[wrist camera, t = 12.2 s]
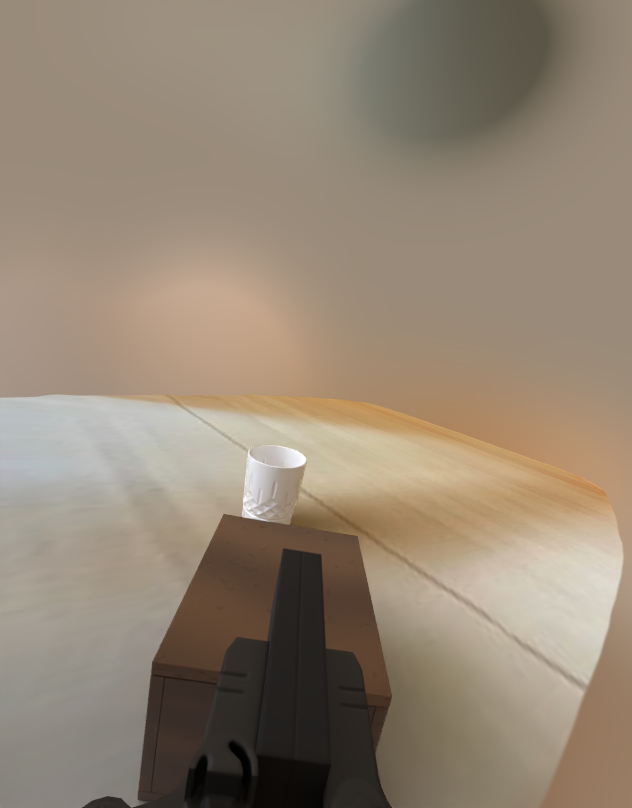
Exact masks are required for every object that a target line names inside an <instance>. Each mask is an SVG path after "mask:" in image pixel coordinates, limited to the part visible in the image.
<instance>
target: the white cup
mask: <svg viewBox="0 0 632 808" xmlns="http://www.w3.org/2000/svg"><path fill="white" fill-rule="evenodd" d="M306 463H307V459H306V457H305V456H304V455H303V454H302V453H300V452H298V451H296V450H294V449H291V448H288V447H284V446H279V445H258V446H254V447H252V448H250V449H249V451H248V456H247V466H246V475H245V484H244V496H243V513H242V517H244V518H250V519H256V520H262V521H269V522H275V523H281V524H287V525H290V524H291V520H292V516H293V512H294V510H295V507H296V503H297V500H298V496H299V492H300V488H301V484H302V480H303V476H304V471H305V467H306Z"/></svg>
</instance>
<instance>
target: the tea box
mask: <svg viewBox="0 0 632 808" xmlns="http://www.w3.org/2000/svg"><path fill="white" fill-rule="evenodd" d="M216 686H217V684H216V683H209V682H202V681H195V680H187V679H180V678H173V677H166V676H159V675H152V674H151V679H150V688H149V697H148V707H147V716H146V725H145V735H144V744H143V753H142V763H141V772H140V781H139V790H138V800H146V801H156V800H158V799H160V798H163V797H165V796H167V795H169V794H170V793H171V792H173V791H174V790H175V789H177V788H178V787H179V786H180V785H181V784H182V783H183V782H184V780H185V779H186V778H187V776H188V769H189V766H190V764H191V762H192V759H193V757H194V755H195V753H196V751H197V750H198V749H199V748H200V747H201V743H202V739H203V735H204V731H205V728H206V724H207V720H208V716H209V712H210V709H211V705H212V701H213V697H214V693H215V690H216ZM368 710H369V716H370V723H371V729H372V736H373V743H374V749H375V752H376V749H377V745H378V742H379V739H380V735H381V732H382V728H383V725H384V722H385V718H386V715H387V711H388V708H385V707H378V706H371V705H368Z"/></svg>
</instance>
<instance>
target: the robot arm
mask: <svg viewBox="0 0 632 808" xmlns="http://www.w3.org/2000/svg"><path fill="white" fill-rule="evenodd" d="M82 808H131V807H130V806H129V805H127V804H126V803H125V802H124V801H123V800H122V799H121V798H115V797H109V796H107V797H103V798H100V799H97V800H93V801H91V802H90V803H88V804H87V805H85V806H84V807H82ZM133 808H392V807H391V806H390V804H389V802H388V801H387V799H386V797H385V795H384V792H383V790H382V788H381V784H380V780H379V776H378V769H377V763H376V756H375V749H374V743H373V736H372V729H371V723H370V716H369V710H368V703H367V696H366V693H365V683H364V676H363V670H362V668H361V666H360V664H359V662H358V660H357V658H356V656H355V655H354V653H353V652H349V651H342V650H335V649H328V648H326V640H325V618H324V597H323V576H322V554H317V553H311V552H304V551H298V550H292V549H285V548H283V551H282V556H281V561H280V566H279V572H278V577H277V582H276V588H275V593H274V598H273V604H272V609H271V616H270V624H269V631H268V638H267V641H263V640H256V639H249V638H242V637H236V638H235V640H234V641H233V642H232V644H231V645H230V646H229V648H228V649H227V650H226V652H225V656H224V659H223V663H222V667H221V671H220V675H219V678H218V682H217V686H216V690H215V693H214V697H213V701H212V705H211V709H210V712H209V716H208V720H207V724H206V728H205V731H204V735H203V739H202V743H201V747H200V748H199V749H198V750H197V751H196V753H195V755H194V757H193V759H192V762H191V764H190V766H189V769H188V776H187V778H186V779H185V780H184V782H183V783H182V784H181V785H180V786H179V787H178V788H177V789H175V790H174V791H173V792H171V793H170V794H169V795H167V796H165V797H163V798H160V799H158V800H156V801H152V802H149V803H146V804H143V805H140V806H137V807H133Z"/></svg>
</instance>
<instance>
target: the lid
mask: <svg viewBox="0 0 632 808" xmlns="http://www.w3.org/2000/svg"><path fill="white" fill-rule="evenodd" d="M283 548H285V549H292V550H298V551H304V552H311V553H317V554H322V576H323V597H324V618H325V640H326V648H328V649H335V650H342V651H349V652H353V653H354V655H355V656H356V658H357V660H358V662H359V664H360V666H361V668H362V670H363V676H364V683H365V693H366V696H367V703H368V705H371V706H378V707H385V708H389V705H390V702H391V698H392V694H391V690H390V685H389V680H388V676H387V671H386V666H385V662H384V657H383V652H382V648H381V643H380V638H379V634H378V629H377V625H376V620H375V615H374V611H373V606H372V601H371V597H370V592H369V587H368V583H367V578H366V573H365V569H364V564H363V559H362V555H361V550H360V545H359V541H358V536H353V535H347V534H341V533H335V532H329V531H323V530H317V529H311V528H305V527H299V526H293V525H287V524H281V523H275V522H269V521H262V520H256V519H250V518H244V517H238V516H232V515H226V514H224V515H223V517H222V519H221V521H220V523H219V525H218V527H217V529H216V531H215V533H214V535H213V537H212V540H211V542H210V544H209V546H208V548H207V550H206V552H205V554H204V556H203V558H202V560H201V562H200V564H199V566H198V569H197V571H196V573H195V575H194V577H193V579H192V581H191V583H190V585H189V587H188V589H187V591H186V593H185V595H184V598H183V600H182V602H181V604H180V606H179V608H178V610H177V612H176V614H175V616H174V618H173V620H172V622H171V625H170V627H169V629H168V631H167V633H166V635H165V637H164V639H163V641H162V643H161V645H160V647H159V649H158V651H157V654H156V656H155V658H154V660H153V662H152V670H151V674H152V675H159V676H166V677H173V678H180V679H187V680H195V681H202V682H209V683H216V684H217V682H218V678H219V675H220V671H221V667H222V663H223V659H224V656H225V652H226V650H227V649H228V648H229V646H230V645H231V644H232V642H233V641H234V640H235V638H236V637H242V638H249V639H256V640H263V641H267V638H268V631H269V624H270V616H271V609H272V604H273V598H274V593H275V588H276V582H277V577H278V572H279V566H280V561H281V556H282V551H283Z"/></svg>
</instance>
